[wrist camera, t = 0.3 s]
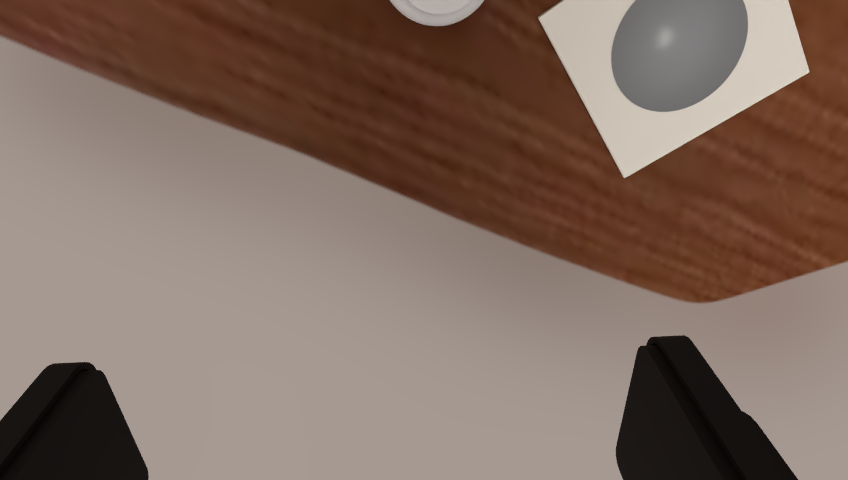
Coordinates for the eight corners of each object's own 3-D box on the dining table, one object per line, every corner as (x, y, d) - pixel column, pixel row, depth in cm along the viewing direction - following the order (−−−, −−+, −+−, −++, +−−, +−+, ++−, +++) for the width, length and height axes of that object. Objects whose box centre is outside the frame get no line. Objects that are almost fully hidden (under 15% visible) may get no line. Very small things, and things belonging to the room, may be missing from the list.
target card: (745, -128, 29) (750, -129, 28) (805, 70, 34) (810, 72, 34) (537, 17, 32) (538, 18, 32) (622, 176, 38) (624, 178, 38)
